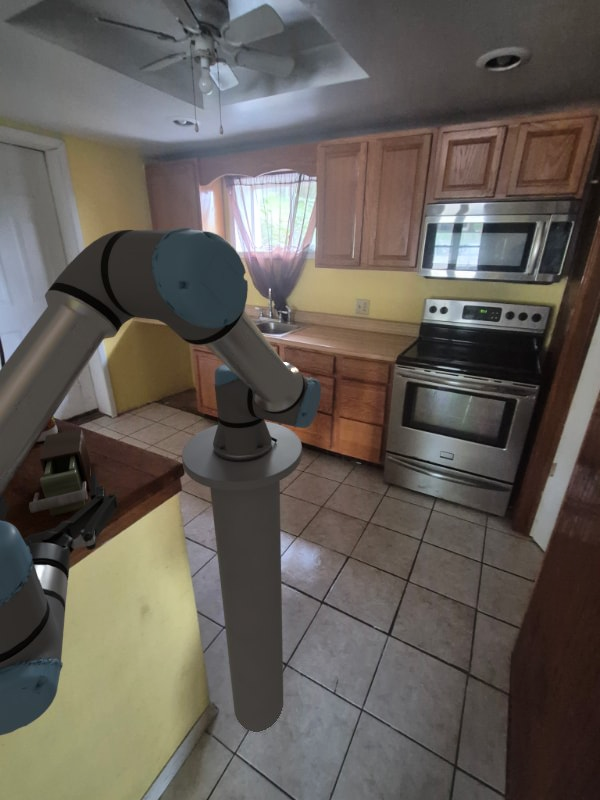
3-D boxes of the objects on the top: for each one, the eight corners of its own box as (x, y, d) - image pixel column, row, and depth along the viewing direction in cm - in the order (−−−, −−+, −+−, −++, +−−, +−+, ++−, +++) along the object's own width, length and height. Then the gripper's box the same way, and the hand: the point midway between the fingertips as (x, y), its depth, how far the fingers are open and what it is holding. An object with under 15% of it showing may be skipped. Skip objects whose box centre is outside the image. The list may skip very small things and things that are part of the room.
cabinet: (90, 490, 83) (79, 451, 78) (52, 499, 80) (39, 459, 76) (91, 465, 92) (81, 428, 88) (57, 472, 89) (46, 435, 85)
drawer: (93, 521, 72) (83, 485, 69) (38, 536, 69) (25, 498, 65) (94, 479, 85) (85, 446, 82) (48, 489, 81) (37, 456, 78)
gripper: (-85, 649, 43) (-33, 531, 60) (143, 571, 53) (132, 489, 71) (-114, 605, 40) (-50, 493, 57) (134, 531, 50) (125, 455, 68)
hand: (51, 491), depth 64 cm, fingers open, 13 cm apart
